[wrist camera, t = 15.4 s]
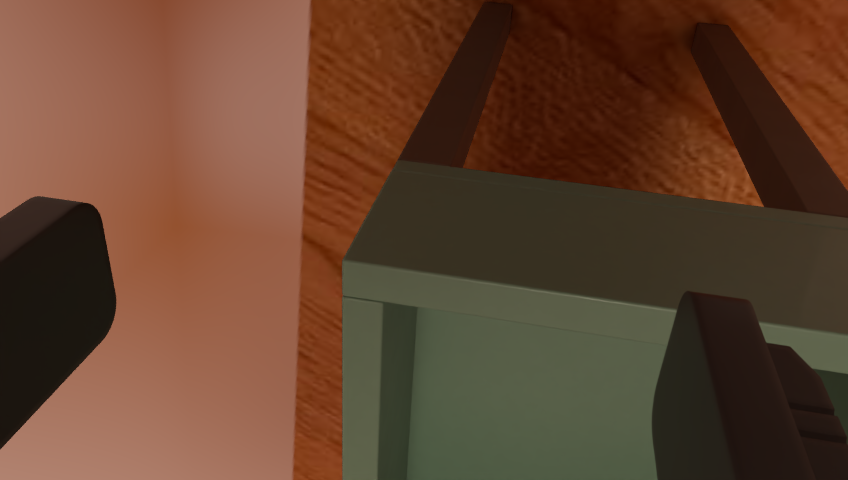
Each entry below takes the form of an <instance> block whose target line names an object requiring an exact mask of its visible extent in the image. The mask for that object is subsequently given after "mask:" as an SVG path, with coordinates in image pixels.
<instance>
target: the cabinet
mask: <svg viewBox="0 0 848 480" xmlns="http://www.w3.org/2000/svg"><path fill="white" fill-rule="evenodd" d="M511 15H512V5H511V4H502V3H492V2H484V3H483V5H482V7H481V9H480V10H479V12H478V14H477V16H476V18H475V20H474V21H473V23H472V25H471V27H470V29H469V31H468V32H467V34H466V36H465V38H464V40H463V42H462V43H461V45H460V47H459V49H458V51H457V53H456V54H455V56H454V58H453V60H452V62H451V64H450V65H449V67H448V69H447V71H446V73H445V74H444V76H443V78H442V80H441V82H440V84H439V85H438V87H437V89H436V91H435V93H434V95H433V96H432V98H431V100H430V102H429V104H428V106H427V107H426V109H425V111H424V113H423V115H422V117H421V118H420V120H419V122H418V124H417V126H416V128H415V129H414V131H413V133H412V135H411V137H410V138H409V140H408V142H407V144H406V146H405V148H404V149H403V151H402V153H401V155H400V157H399V159H398V161H397V162H396V164H395V166H394V168H393V170H392V171H391V173H390V174H389V176H388V178H387V180H386V182H385V184H384V185H383V187H382V189H381V191H380V193H379V195H378V196H377V198H376V200H375V202H374V204H373V206H372V207H371V209H370V211H369V213H368V215H367V216H366V218H365V220H364V222H363V224H362V226H361V227H360V229H359V231H358V233H357V235H356V237H355V238H354V240H353V242H352V244H351V246H350V248H349V249H348V251H347V253H346V255H345V257H344V258H343V260H342V294H343V297H342V480H657V471H656V463H655V455H654V446H653V438H652V408H653V400H654V393H655V388H656V384H657V381H658V377H659V373H660V370H661V366H662V363H663V359H664V355H665V352H666V348H667V345H668V341H669V337H670V334H671V330H672V327H673V323H674V319H675V316H676V312H677V309H678V305H679V302H680V300H681V298H682V296H683V294H684V293H685V292H686V291H692V292H699V293H706V294H713V295H719V296H726V297H733V298H740V299H747V300H749V301H750V302H751V304H752V306H753V308H754V311H755V314H756V316H757V319H758V322H759V325H760V327H761V330H762V333H763V336H764V338H765V341H766V343H772V344H778V345H785V346H790V347H791V348H792V349H793V350H794V351H795V352H796V353H797V354H798V355H799V356H800V357H801V358H802V359H803V360H804V361H805V362H806V363H807V364H808V365H809V366H810V367H811V368H812V369H813V370H814V371H815V372H816V373H817V374H818V375H819V376H820V377H821V379H822V382H823V384H824V386H825V388H826V391H827V393H828V395H829V397H830V400H831V402H832V404H833V407H834V409H835V411H834V416H838V418H839V420H840V422H841V425H842V427H843V429H844V431H845V434H846V436H847V441H846V442H847V444H848V191H847V190H846V188H845V187H844V185H843V184H842V183H841V181H840V180H839V178H838V177H837V176H836V174H835V173H834V172H833V170H832V169H831V167H830V166H829V165H828V163H827V162H826V160H825V159H824V158H823V156H822V155H821V153H820V152H819V151H818V149H817V148H816V147H815V145H814V144H813V142H812V141H811V140H810V138H809V137H808V135H807V134H806V133H805V131H804V130H803V128H802V127H801V126H800V124H799V123H798V121H797V120H796V119H795V117H794V116H793V115H792V113H791V112H790V110H789V109H788V108H787V106H786V105H785V103H784V102H783V101H782V99H781V98H780V96H779V95H778V94H777V92H776V91H775V90H774V88H773V87H772V85H771V84H770V83H769V81H768V80H767V78H766V77H765V76H764V74H763V73H762V71H761V70H760V69H759V67H758V66H757V65H756V63H755V62H754V60H753V59H752V58H751V56H750V55H749V53H748V52H747V51H746V49H745V48H744V46H743V45H742V44H741V42H740V41H739V40H738V38H737V37H736V35H735V34H734V33H733V31H732V30H731V28H730V27H729V26H727V25H717V24H707V23H698V24H697V28H696V33H695V37H694V41H693V45H692V49H691V53H692V55H693V57H694V60H695V62H696V64H697V66H698V68H699V70H700V72H701V74H702V76H703V79H704V81H705V83H706V85H707V87H708V89H709V91H710V93H711V95H712V98H713V100H714V102H715V104H716V106H717V108H718V110H719V112H720V114H721V117H722V119H723V121H724V123H725V125H726V127H727V129H728V131H729V133H730V136H731V138H732V140H733V142H734V144H735V146H736V148H737V150H738V152H739V155H740V157H741V159H742V161H743V163H744V165H745V167H746V169H747V172H748V174H749V176H750V178H751V180H752V182H753V184H754V186H755V188H756V191H757V193H758V195H759V197H760V199H761V201H762V203H763V205H764V207H759V206H751V205H744V204H736V203H728V202H720V201H713V200H705V199H697V198H689V197H682V196H674V195H666V194H658V193H651V192H643V191H635V190H627V189H620V188H612V187H604V186H596V185H589V184H581V183H573V182H565V181H558V180H550V179H542V178H534V177H527V176H519V175H511V174H503V173H495V172H488V171H480V170H472V169H464V168H463V165H464V162H465V159H466V157H467V154H468V151H469V148H470V145H471V142H472V139H473V136H474V133H475V131H476V128H477V125H478V122H479V119H480V116H481V113H482V110H483V107H484V105H485V102H486V99H487V96H488V93H489V90H490V87H491V84H492V82H493V79H494V76H495V73H496V70H497V67H498V64H499V61H500V58H501V56H502V53H503V50H504V47H505V44H506V41H507V38H508V35H509V32H510V24H511Z"/></svg>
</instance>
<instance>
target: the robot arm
mask: <svg viewBox="0 0 848 480" xmlns="http://www.w3.org/2000/svg"><path fill="white" fill-rule="evenodd" d="M115 311H116V294H115V288H114V283H113V278H112V272H111V267H110V261H109V256H108V250H107V245H106V240H105V234H104V229H103V223H102V219H101V216H100V214H99V212H98V210H97V209H96V208H95V207H94V206H93V205H91V204H88V203H83V202H76V201H69V200H62V199H54V198H48V197H40V196H37V197H33V198H31V199H29V200H27V201H25V202H24V203H22V204H21V205H19V206H18V207H16V208H15V209H13V210H12V211H10V212H9V213H7V214H6V215H4V216H3V217H1V218H0V449H1V448H2V447H3V446H4V445H5V444H6V443H7V442H8V441H9V440H10V439H11V437H12V436H13V435H14V434H15V433H16V432H17V431H18V430H19V429H20V428H21V427H22V426H23V425H24V424H25V423H26V421H27V420H28V419H29V418H30V417H31V416H32V415H33V414H34V413H35V412H36V411H37V410H38V409H39V408H40V406H41V405H42V404H43V403H44V402H45V401H46V400H47V399H48V398H49V397H50V396H51V395H52V394H53V393H54V392H55V390H56V389H57V388H58V387H59V386H60V385H61V384H62V383H63V382H64V381H65V380H66V379H67V377H69V376H70V374H71V373H72V372H73V371H74V370H75V369H76V368H77V367H78V366H79V365H80V364H81V363H82V362H83V361H84V360H85V359H86V357H87V356H88V355H89V354H90V353H91V352H92V351H93V350H94V349H95V348H96V347H97V346H98V344H100V343H101V341H102V340H103V339H104V338H105V337H106V335H107V333H108V332H109V330H110V328H111V325H112V323H113V320H114V316H115ZM834 411H835V409H834V407H833V404H832V402H831V400H830V397H829V395H828V393H827V391H826V388H825V386H824V384H823V382H822V379H821V377H820V376H819V375H818V374H817V373H816V372H815V371H814V370H813V369H812V368H811V367H810V366H809V365H808V364H807V363H806V362H805V361H804V360H803V359H802V358H801V357H800V356H799V355H798V354H797V353H796V352H795V351H794V350H793V349H792V348H791V347H790V346H785V345H778V344H772V343H766V341H765V338H764V336H763V333H762V330H761V327H760V325H759V322H758V319H757V316H756V314H755V311H754V308H753V306H752V304H751V302H750V301H749V300H747V299H740V298H733V297H726V296H719V295H713V294H706V293H699V292H692V291H686V292H685V293H684V294H683V296H682V298H681V300H680V302H679V305H678V309H677V312H676V316H675V319H674V323H673V327H672V330H671V334H670V337H669V341H668V345H667V348H666V352H665V355H664V359H663V363H662V366H661V370H660V373H659V377H658V381H657V384H656V388H655V393H654V400H653V408H652V438H653V446H654V455H655V463H656V471H657V480H848V444H847V442H846V441H847V436H846V434H845V431H844V429H843V427H842V425H841V422H840V420H839V418H838V416H834Z"/></svg>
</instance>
